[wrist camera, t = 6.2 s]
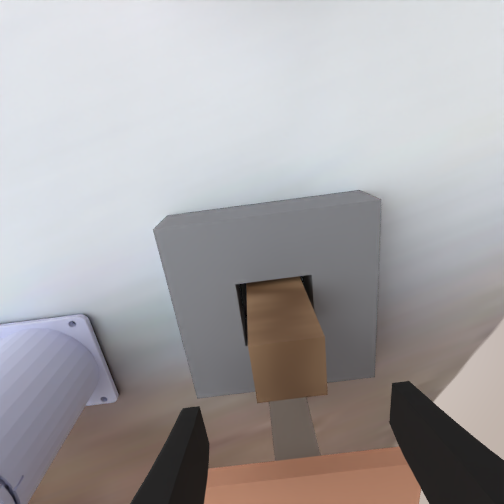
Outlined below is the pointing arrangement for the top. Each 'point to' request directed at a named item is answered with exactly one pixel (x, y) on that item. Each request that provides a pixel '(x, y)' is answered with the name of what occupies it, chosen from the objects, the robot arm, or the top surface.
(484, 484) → the robot arm
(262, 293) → the peg
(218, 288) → the socket block
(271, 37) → the top surface
